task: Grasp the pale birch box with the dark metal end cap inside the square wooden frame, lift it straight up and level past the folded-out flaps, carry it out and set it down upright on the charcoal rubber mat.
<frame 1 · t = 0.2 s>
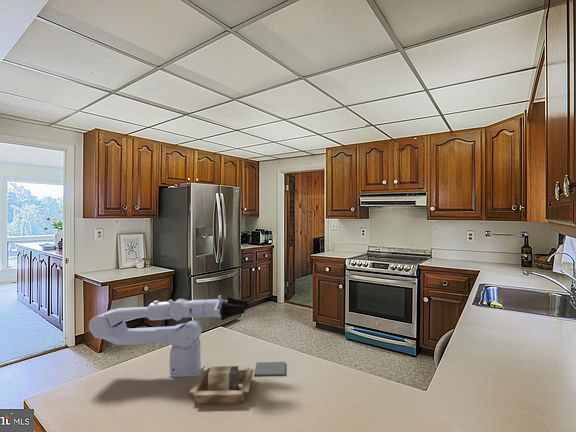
hand: (246, 306, 107), 21 cm above the counter, tool horizontal, fingers open, 7 cm apart
mat: (270, 369, 107), on the counter
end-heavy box: (223, 380, 94), in the square wooden frame
square wooden frame: (223, 390, 94), on the counter
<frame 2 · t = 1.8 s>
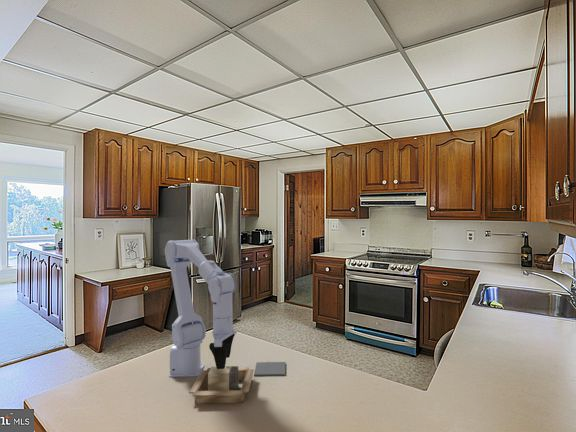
hand: (223, 362, 94), 8 cm above the counter, tool pointing down, fingers open, 7 cm apart
nothing on the counter moved.
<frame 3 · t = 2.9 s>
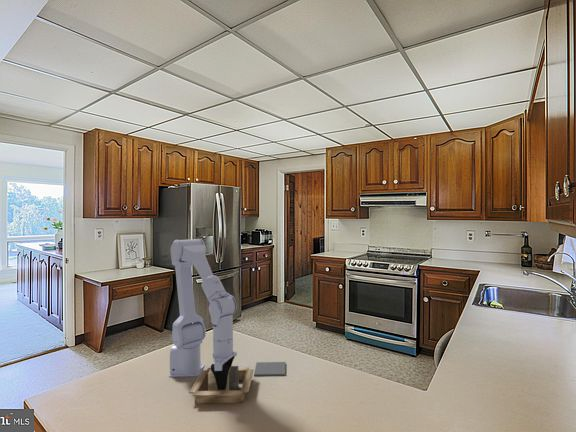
hand: (223, 384, 94), 2 cm above the counter, tool pointing down, fingers closed on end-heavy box, 4 cm apart
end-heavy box: (223, 380, 94), in the square wooden frame, touching gripper
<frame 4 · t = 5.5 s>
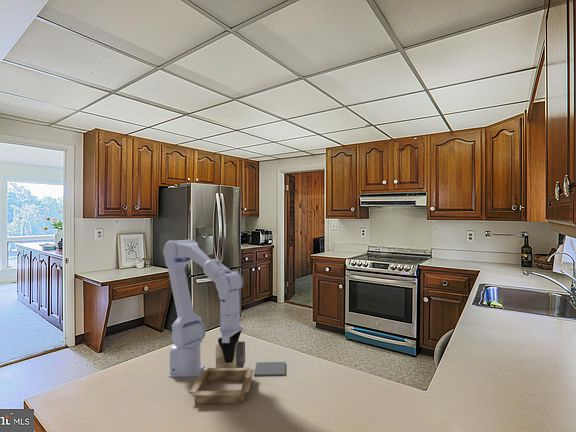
hand: (230, 358, 96), 8 cm above the counter, tool pointing down, fingers closed on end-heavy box, 4 cm apart
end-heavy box: (230, 354, 96), point 10 cm above the counter, touching gripper
when the fingers open (4 cm above the counter, at t = 8.0 s): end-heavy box drops 1 cm, resting on mat.
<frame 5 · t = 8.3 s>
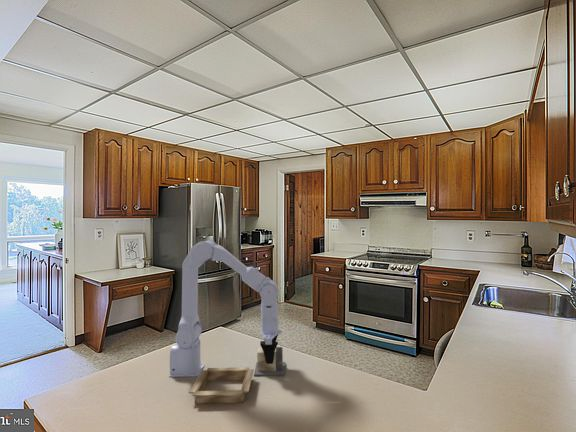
hand: (270, 358, 107), 4 cm above the counter, tool pointing down, fingers open, 7 cm apart
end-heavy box: (270, 358, 107), on the mat
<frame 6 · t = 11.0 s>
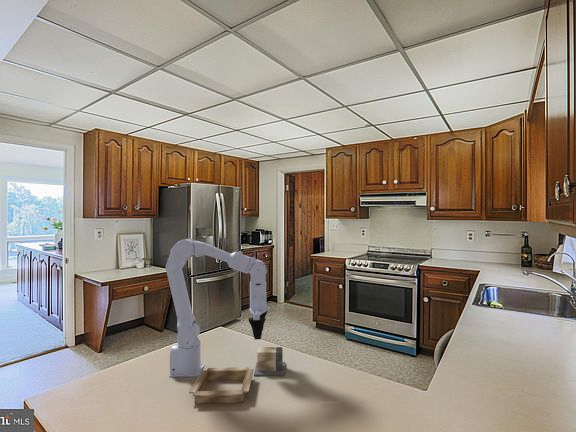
hand: (258, 335, 110), 10 cm above the counter, tool pointing down, fingers open, 7 cm apart
nothing on the counter moved.
at the end: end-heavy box 0.0 cm off-centre on the mat, point 3.5 cm above the mat's base; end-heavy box tilted 0°; the gripper is holding nothing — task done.
